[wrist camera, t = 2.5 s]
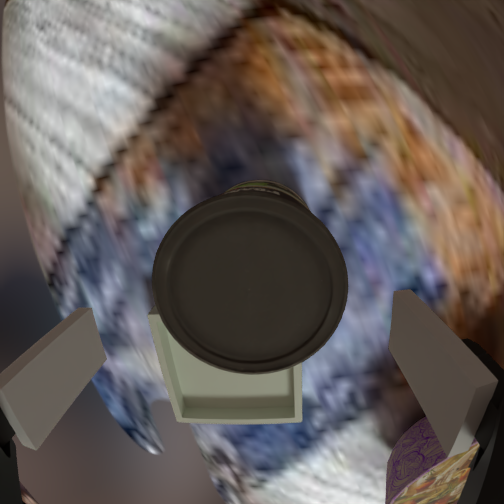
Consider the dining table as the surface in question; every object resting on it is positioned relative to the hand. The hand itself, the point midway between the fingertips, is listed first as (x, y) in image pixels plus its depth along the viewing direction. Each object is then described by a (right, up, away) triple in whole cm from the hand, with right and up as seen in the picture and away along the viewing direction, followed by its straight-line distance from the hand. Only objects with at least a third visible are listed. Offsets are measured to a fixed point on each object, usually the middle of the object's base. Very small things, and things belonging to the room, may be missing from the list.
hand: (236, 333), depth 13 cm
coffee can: (+1, +5, +17) cm, 18 cm away
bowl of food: (+27, -22, +23) cm, 42 cm away
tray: (-1, -9, +21) cm, 22 cm away
